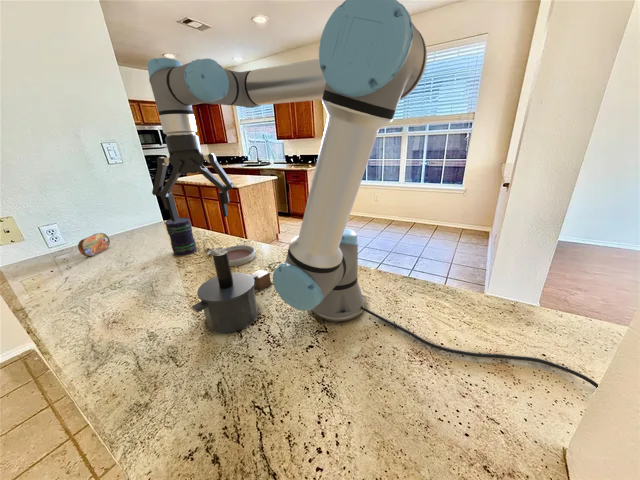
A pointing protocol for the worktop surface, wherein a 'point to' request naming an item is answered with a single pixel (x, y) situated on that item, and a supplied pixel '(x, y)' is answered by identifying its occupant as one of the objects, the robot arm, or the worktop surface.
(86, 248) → the tin
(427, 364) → the worktop surface
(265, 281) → the block
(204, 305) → the pot
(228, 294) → the lid
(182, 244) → the storage jar
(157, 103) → the robot arm
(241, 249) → the frying pan
